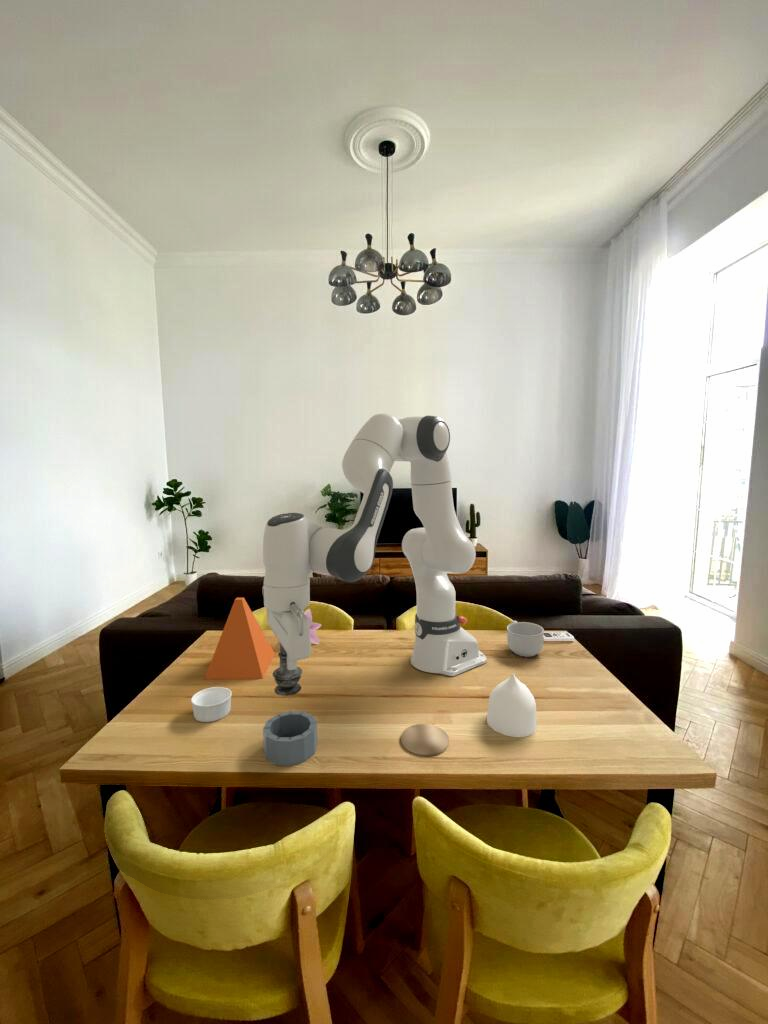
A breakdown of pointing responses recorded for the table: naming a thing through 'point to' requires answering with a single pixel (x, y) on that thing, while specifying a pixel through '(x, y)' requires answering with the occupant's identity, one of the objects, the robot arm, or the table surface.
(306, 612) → the lily
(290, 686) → the grey chess piece
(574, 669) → the table surface
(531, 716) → the teardrop
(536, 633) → the teacup
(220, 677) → the pyramid
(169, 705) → the table surface
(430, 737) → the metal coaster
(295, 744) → the grey faceted cup
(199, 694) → the ramekin
